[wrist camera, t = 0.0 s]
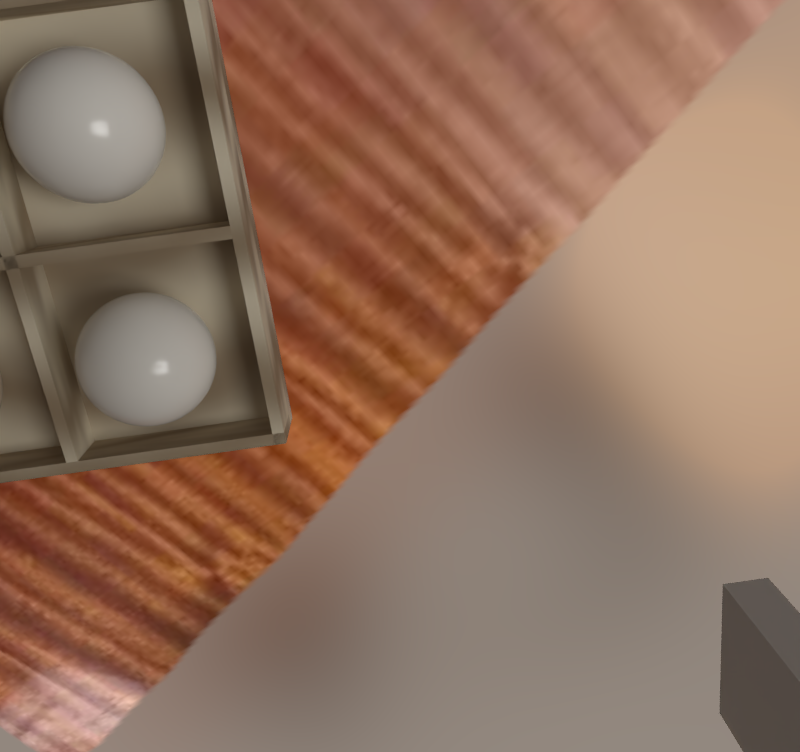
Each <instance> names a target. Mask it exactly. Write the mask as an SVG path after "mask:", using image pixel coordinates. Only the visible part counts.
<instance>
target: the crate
mask: <svg viewBox="0 0 800 752" xmlns="http://www.w3.org/2000/svg"><path fill="white" fill-rule="evenodd" d="M62 46H85V47H91V48H96V49H100V50H102V51H105V52H108V53H110V54H112V55H114V56H116V57H118V58H120V59H122V60H123V61H125V62H126V63H128V64H129V65H130V66H132V67H133V68H134V69H135V70H136V71H137V72H138V73H139V74H140V75H141V76H142V77H143V78H144V79H145V80H146V82H147V83H148V84H149V86H150V87H151V89H152V90H153V92H154V94H155V95H156V97H157V99H158V101H159V104H160V106H161V108H162V112H163V115H164V120H165V126H166V143H165V149H164V154H163V157H162V160H161V162H160V165H159V167H158V168H157V170H156V172H155V174H154V175H153V176H152V178H151V179H150V180H149V181H148V182H147V183H146V184H145V185H144V186H143V187H142V188H141V189H139V190H138V191H136V192H135V193H133V194H131V195H129V196H128V197H126V198H123V199H120V200H118V201H114V202H109V203H99V204H90V203H81V202H76V201H72V200H69V199H66V198H63V197H60V196H58V195H56V194H54V193H52V192H50V191H49V190H47V189H46V188H44V187H43V186H41V185H40V184H39V183H38V182H36V181H35V180H34V179H33V178H32V177H31V176H30V175H29V174H28V173H27V172H26V171H25V170H24V169H23V168H22V166H21V165H20V164H19V162H18V161H17V159H16V157H15V156H14V154H13V152H12V150H11V148H10V146H9V143H8V140H7V137H6V133H5V129H4V121H3V107H4V101H5V96H6V93H7V90H8V87H9V85H10V83H11V81H12V79H13V78H14V76H15V75H16V73H17V72H18V71H19V70H20V69H21V68H22V66H23V65H24V64H25V63H27V62H28V61H29V60H30V59H32V58H33V57H35V56H37V55H38V54H40V53H42V52H45V51H48V50H50V49H53V48H57V47H62ZM143 292H149V293H158V294H163V295H166V296H170V297H172V298H175V299H177V300H179V301H181V302H182V303H184V304H186V305H187V306H189V307H190V308H191V309H192V310H194V311H195V312H196V313H197V314H198V315H199V316H200V317H201V319H202V320H203V321H204V322H205V324H206V325H207V327H208V329H209V330H210V333H211V335H212V337H213V340H214V344H215V348H216V359H217V365H216V372H215V376H214V380H213V382H212V385H211V387H210V389H209V391H208V393H207V394H206V396H205V397H204V399H203V400H202V401H201V402H200V403H199V405H198V406H197V407H196V408H194V409H193V410H192V411H191V412H189V413H188V414H186V415H185V416H183V417H182V418H180V419H178V420H176V421H173V422H170V423H167V424H163V425H158V426H149V427H144V426H134V425H129V424H125V423H122V422H119V421H117V420H114V419H112V418H111V417H109V416H107V415H105V414H104V413H103V412H101V411H100V410H99V409H98V408H96V407H95V406H94V405H93V404H92V402H91V401H90V400H89V399H88V398H87V396H86V395H85V393H84V391H83V390H82V388H81V386H80V383H79V381H78V378H77V375H76V370H75V348H76V343H77V340H78V337H79V335H80V332H81V330H82V328H83V327H84V325H85V323H86V322H87V321H88V319H89V318H90V317H91V316H92V315H93V314H94V313H95V312H96V311H97V310H98V309H99V308H100V307H102V306H103V305H104V304H106V303H108V302H110V301H112V300H114V299H116V298H118V297H121V296H124V295H127V294H132V293H143ZM0 371H1V375H2V379H3V388H4V389H3V400H2V404H1V408H0V483H4V482H11V481H18V480H25V479H32V478H39V477H47V476H54V475H61V474H68V473H75V472H83V471H90V470H97V469H104V468H111V467H119V466H126V465H133V464H140V463H147V462H154V461H162V460H169V459H176V458H183V457H190V456H198V455H205V454H212V453H219V452H226V451H233V450H241V449H248V448H255V447H262V446H269V445H277V444H284V443H286V442H287V438H288V433H289V429H290V424H291V420H292V414H291V408H290V403H289V398H288V393H287V388H286V382H285V377H284V372H283V367H282V362H281V357H280V351H279V346H278V341H277V336H276V331H275V325H274V320H273V315H272V310H271V305H270V300H269V294H268V289H267V284H266V279H265V274H264V268H263V263H262V258H261V253H260V248H259V242H258V237H257V232H256V227H255V222H254V217H253V211H252V206H251V201H250V196H249V191H248V185H247V180H246V175H245V170H244V165H243V159H242V154H241V149H240V144H239V139H238V134H237V128H236V123H235V118H234V113H233V108H232V102H231V97H230V92H229V87H228V82H227V76H226V71H225V66H224V61H223V56H222V51H221V45H220V40H219V35H218V30H217V25H216V19H215V14H214V9H213V4H212V0H0Z"/></svg>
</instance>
